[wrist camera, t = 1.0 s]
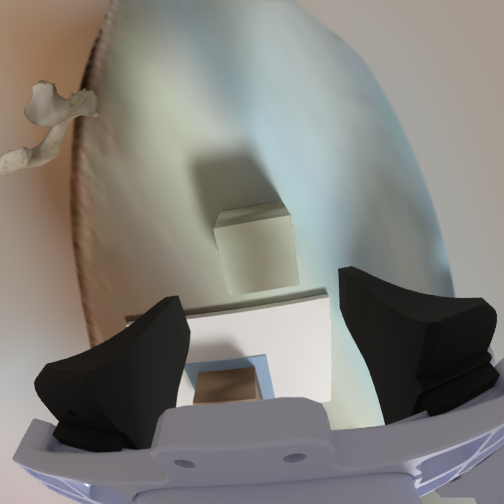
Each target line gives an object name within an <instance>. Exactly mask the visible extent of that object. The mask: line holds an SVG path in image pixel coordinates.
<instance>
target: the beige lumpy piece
mask: <svg viewBox="0 0 504 504" xmlns="http://www.w3.org/2000/svg"><path fill="white" fill-rule="evenodd" d="M32 89H33V93H32V98H31V99H30V101H29V103H28V104H27V105H26V107H25V109H24V114H25V116H26V117H27V119H28V120H29V121H31V122H32V123H34V124H35V125H39V126H45V127H51V129H50V131H49V133H48V134H47V136H46V137H45V139H44V140H43V141H42V142H41V143H40V144H39V145H38V146H36V147H34V148H32V149H28V148H26V147H22V148H20V149H17V150H11V151H8V152H6V153H4V154H2V155H1V156H0V174H4V173H5V174H7V173H10V172H13V171H15V170H18V169H22V168H27V167H36V166H41V165H43V164H45V163H47V162H49V161H51V160H53V159H54V158H56V157H57V156H58V155H59V150H60V147H61V144H62V141H63V138H64V136H65V133H66V130H67V127H68V125H69V123H70V121H72V120H73V119H74V118H75V117H77V116H81V115H83V116H92V117H98V116H99V115H100V113H99V112H97V111H96V110H97V105H98V101H97V96H96V95H95V94H94V91H93V90H91V91H88V90H86V89H83V90H82V91H78V92H77V93H75V94H73V93H72V94H71V96H70V98H69V99H64V98H62V97H61V96H60V95H59V94H58V93H57V90H56V87H55V84H51V83H50V82H47V81H43V80H40V81H38V84H35V85H33V87H32Z"/></svg>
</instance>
